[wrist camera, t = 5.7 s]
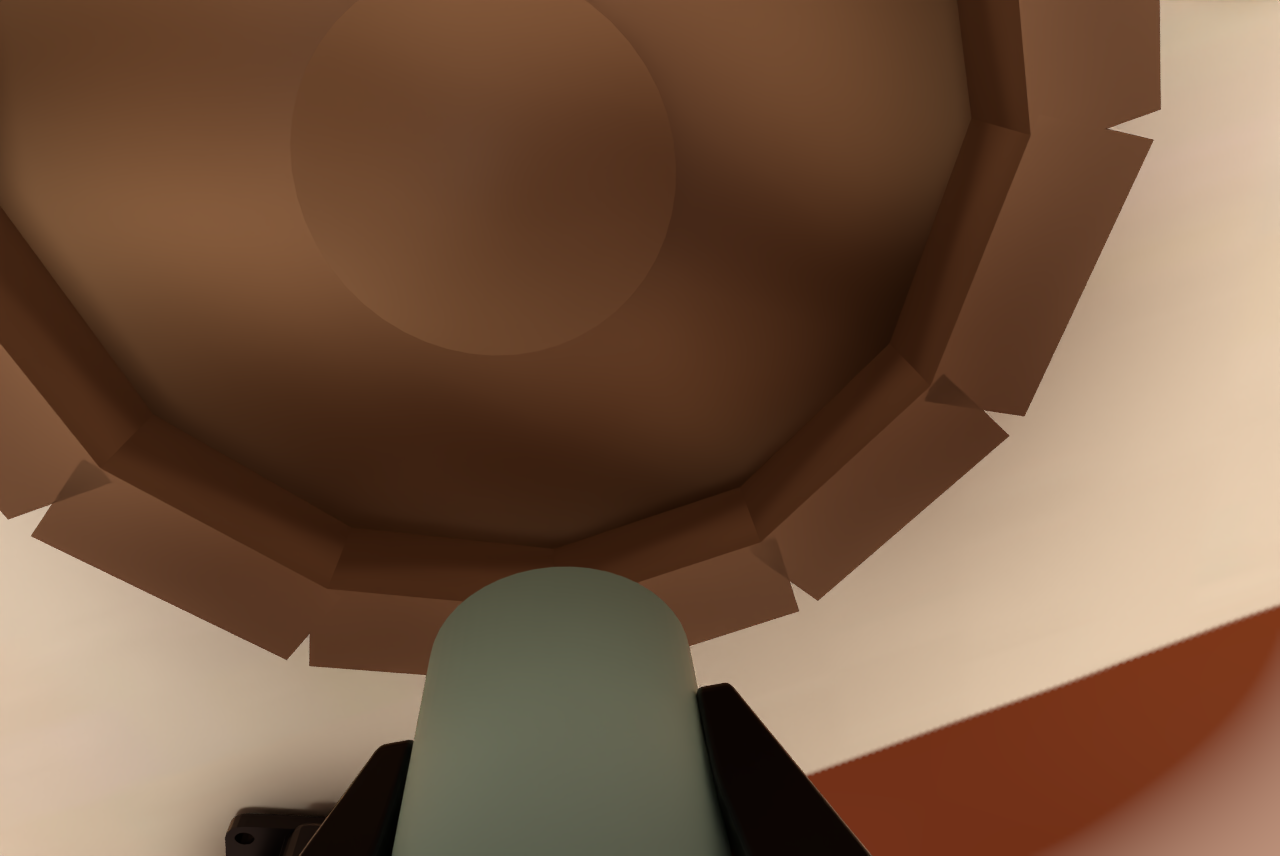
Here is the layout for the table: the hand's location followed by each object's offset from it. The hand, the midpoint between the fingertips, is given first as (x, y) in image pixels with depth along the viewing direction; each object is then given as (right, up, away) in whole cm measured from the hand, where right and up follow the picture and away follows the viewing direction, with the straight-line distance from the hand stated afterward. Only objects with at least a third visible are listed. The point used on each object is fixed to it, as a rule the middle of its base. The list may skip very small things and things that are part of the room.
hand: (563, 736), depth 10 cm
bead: (0, +1, +1) cm, 1 cm away
